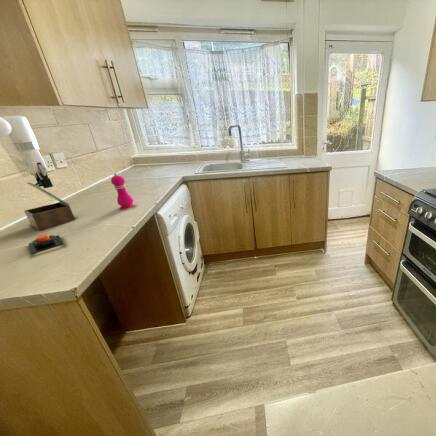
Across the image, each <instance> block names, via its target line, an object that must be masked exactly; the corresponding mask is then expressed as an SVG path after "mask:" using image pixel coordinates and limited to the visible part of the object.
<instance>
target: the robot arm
mask: <svg viewBox="0 0 436 436" xmlns="http://www.w3.org/2000/svg"><path fill="white" fill-rule="evenodd" d="M7 136H9V138H10V141H11V142H12V145H13V147H14V149H15V150H16V152H19V154H20V157H21V159H22V161H23V165H24V167H25V169H26V171H27V172H28V173H31V174H32V175H33V176H34V178H35V181H36V183H37V182H38V181H39V180H40V179H41V180H40V181H41V182H40V183H42V185H41V186H40V187H41V188H42V187H43V189H49V188H54V185H53V183H52V181H51V179H50V176H49V175H48V167H47V165H46V162H45V160H44V158H43V156H42V154H41V153H40V151H39V150H41V147H40V144H39V142H38V140H37V138H36V136H35V133H34V131H33V129H32V127H31V124H30V123H29V119H27V117H25V116H24V115H5V116H0V138H4V137H7ZM40 183H39V184H40ZM39 184H38V185H39ZM38 185H37V186H38Z"/></svg>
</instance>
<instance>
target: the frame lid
mask: <svg viewBox="0 0 436 436" xmlns="http://www.w3.org/2000/svg"><path fill="white" fill-rule="evenodd" d="M40 180H41V179H40ZM40 180H39V181H38V182H37V181H36V183H33V182H32V183H31V182H30V181H28V182H27V183H26V184H28V185H29V186H31V187H33V188H34V189H36V190H38V191H39V192H41V193H43V194H45V195H47V196H49V197H50V198H52V199H54V200H55V201H56V202H61V203H64V204H66V205H69V206H70V203H68V202H66V201H64V200H63V199H61V198H59V197H58V196H56V195H54V194H53V193H51V192H50V191H48V190H45V188H42V186H41V185H42V183H40V182H41V181H40ZM39 183H40V184H39ZM38 184H39V185H38ZM40 186H41V187H40Z"/></svg>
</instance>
